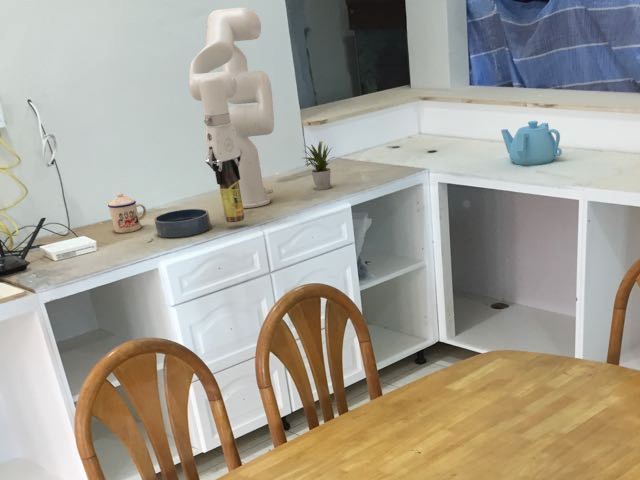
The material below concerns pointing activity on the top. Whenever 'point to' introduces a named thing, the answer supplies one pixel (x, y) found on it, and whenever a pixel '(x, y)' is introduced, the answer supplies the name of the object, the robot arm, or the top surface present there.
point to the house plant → (319, 167)
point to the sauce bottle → (231, 194)
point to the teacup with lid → (125, 214)
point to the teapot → (532, 144)
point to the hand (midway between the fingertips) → (228, 181)
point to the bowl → (182, 223)
